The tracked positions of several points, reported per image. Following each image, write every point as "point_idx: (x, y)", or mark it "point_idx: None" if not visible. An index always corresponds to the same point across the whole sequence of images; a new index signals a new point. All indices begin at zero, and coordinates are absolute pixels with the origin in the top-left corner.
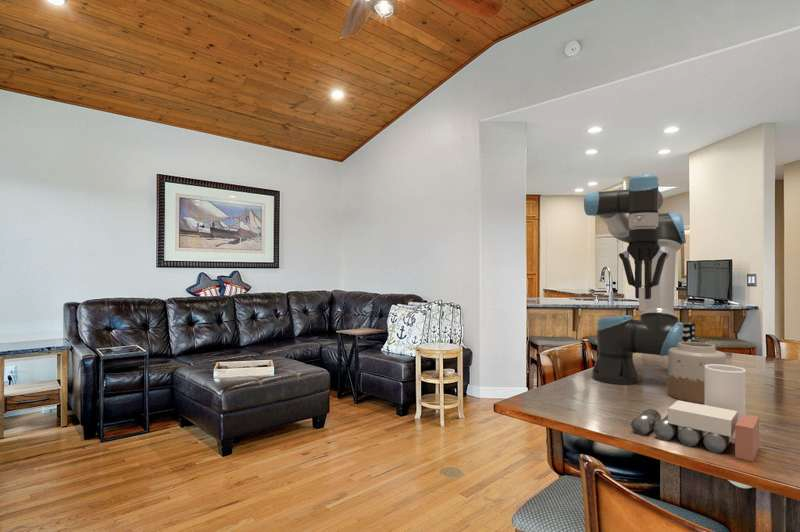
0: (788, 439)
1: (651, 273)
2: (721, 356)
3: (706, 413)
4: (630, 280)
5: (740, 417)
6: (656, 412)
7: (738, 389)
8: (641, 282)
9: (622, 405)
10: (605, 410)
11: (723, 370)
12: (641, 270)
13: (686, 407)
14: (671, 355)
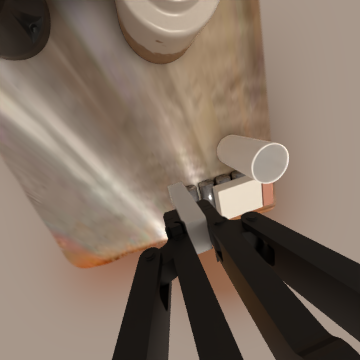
0: (266, 119)
1: (267, 266)
2: None
3: (246, 206)
4: (165, 297)
5: (262, 185)
6: (195, 193)
7: (269, 166)
8: (193, 247)
9: (134, 158)
10: (138, 189)
11: (273, 181)
12: (221, 313)
13: (231, 205)
14: (139, 26)
